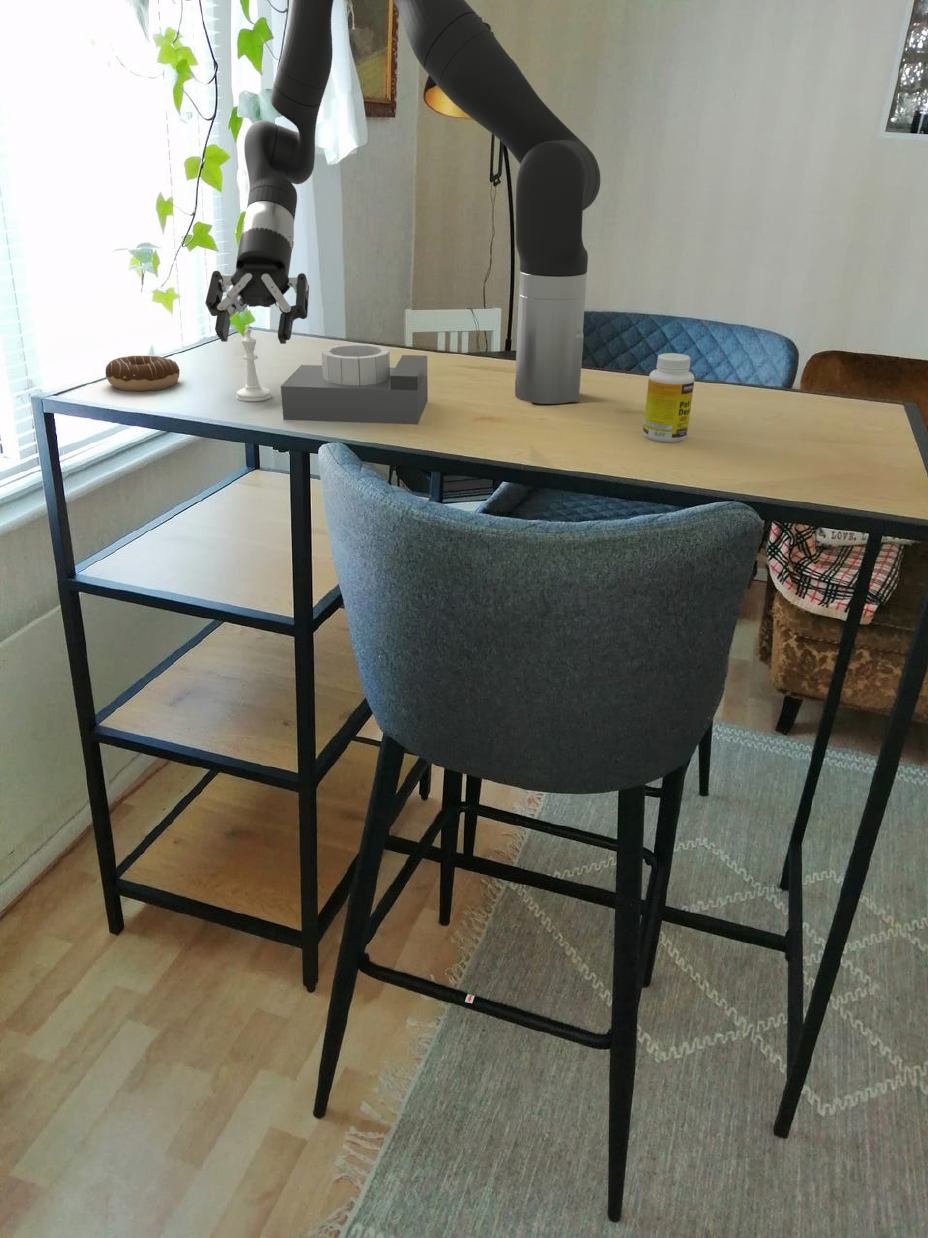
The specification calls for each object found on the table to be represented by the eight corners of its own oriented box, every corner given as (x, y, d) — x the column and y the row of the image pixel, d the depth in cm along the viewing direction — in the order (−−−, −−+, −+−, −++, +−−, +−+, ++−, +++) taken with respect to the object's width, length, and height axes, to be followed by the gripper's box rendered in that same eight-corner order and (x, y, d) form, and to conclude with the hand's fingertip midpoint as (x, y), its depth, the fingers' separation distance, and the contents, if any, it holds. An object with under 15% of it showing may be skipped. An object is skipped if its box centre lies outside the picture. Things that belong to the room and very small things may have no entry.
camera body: (427, 400, 133) (427, 343, 129) (417, 424, 122) (417, 363, 119) (303, 396, 134) (299, 339, 130) (283, 419, 123) (278, 358, 120)
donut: (95, 393, 135) (90, 365, 133) (123, 375, 144) (119, 349, 142) (167, 395, 134) (163, 368, 132) (191, 377, 143) (188, 351, 141)
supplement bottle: (679, 446, 115) (689, 363, 111) (636, 439, 118) (644, 357, 113) (692, 435, 120) (702, 354, 115) (650, 428, 122) (659, 349, 117)
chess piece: (275, 393, 135) (269, 322, 131) (265, 402, 131) (259, 329, 126) (242, 391, 136) (235, 321, 131) (231, 400, 132) (224, 328, 127)
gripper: (211, 224, 133) (194, 322, 128) (309, 226, 132) (295, 325, 127) (226, 259, 140) (210, 352, 135) (319, 261, 139) (307, 356, 135)
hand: (252, 339), depth 131 cm, fingers open, 8 cm apart
